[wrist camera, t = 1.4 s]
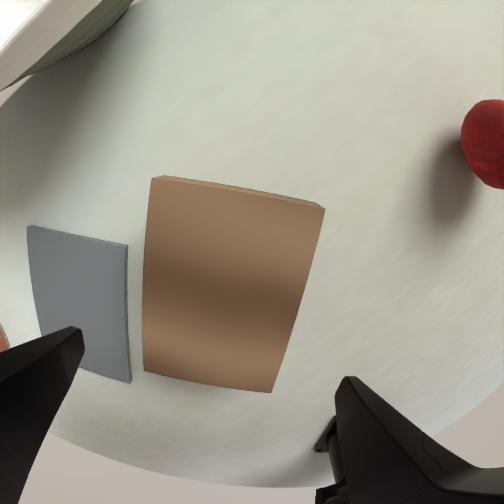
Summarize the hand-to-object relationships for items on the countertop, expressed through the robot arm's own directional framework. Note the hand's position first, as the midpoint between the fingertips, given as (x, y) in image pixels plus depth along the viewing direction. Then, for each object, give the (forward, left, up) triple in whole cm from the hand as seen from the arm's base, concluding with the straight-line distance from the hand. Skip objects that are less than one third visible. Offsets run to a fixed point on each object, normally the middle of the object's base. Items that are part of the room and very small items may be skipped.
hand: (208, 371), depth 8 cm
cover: (0, 0, -6) cm, 6 cm away
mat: (-6, +11, -9) cm, 16 cm away
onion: (+12, -15, -10) cm, 22 cm away
